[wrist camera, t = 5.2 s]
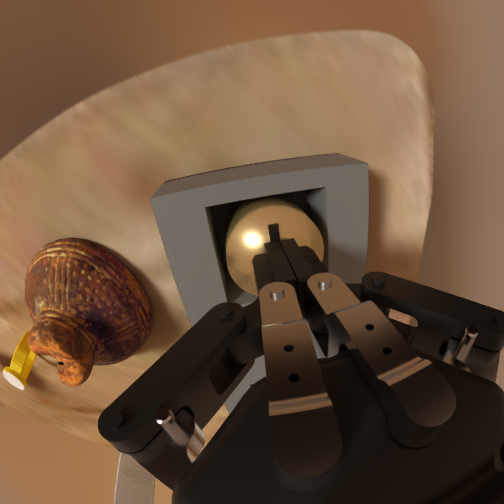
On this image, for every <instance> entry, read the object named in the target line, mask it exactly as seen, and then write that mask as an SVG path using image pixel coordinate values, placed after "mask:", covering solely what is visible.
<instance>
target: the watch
mask: <svg viewBox="0 0 504 504" xmlns="http://www.w3.org/2000/svg"><path fill="white" fill-rule="evenodd" d="M29 333H30V331H27V332H26V334H25V335H24V336H23V337H22V339H21V340H20V342H19V344H18V346H17V348H16V350H15V352H14V355H13V357H12V360H11V364H10V367H5V368H4V370H3V375H4V376H5V378H6V379H7V380H8V381H9V382H10V383H11V384H12V385H14V386H15V387H17V388H19V389H21V390H24V389H25V387H26V385H27V383H26V379H27V377H28V375H29V373H30V371H31V368H32V366H33V364H34V361H35V359H36V356H37V355H36V354H35V353H33V352H32V351H31V350H30V348H29V345H28V341H27V337H28V335H29Z"/></svg>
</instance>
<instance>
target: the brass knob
mask: <svg viewBox="0 0 504 504" xmlns="http://www.w3.org/2000/svg"><path fill="white" fill-rule="evenodd" d="M224 232H225V247H226V261H227V267H228V270H229V273H230V275H231V277H232V279H233V280H234V282H235V283H236V284H237V285H238V286H239V287H240V288H242V289H243V290H244V291H246V292H248V293H250V294H252V295H255V296H258V292H257V287H256V282H255V276H254V270H253V264H252V260H253V258H254V256H255V255H257V254H263V253H264V245H263V244H264V243H268V242H274V241H279V240H284V239H290V238H294V239H295V241H296V242H297V244H298V246H299V247H300V246H305V245H306V246H308V247H309V248H311V249H313V250H314V252H315V253H316V255H317V256H318V258H319V259H320V261H321V262H322V260H323V255H324V243H323V239H322V236H321V233H320V231H319V229H318V228H317V226H316V225H315V224H314V223H313V222H312V220H311V219H310V218H309V217H308V216H307V215H306V214H305V213H304V212H303V210H302V209H301V208H300V207H299V206H298V205H297V204H296V203H295V202H294V201H293V200H292V199H291V198H290V197H289V196H287V195H286V194H284V193H281V194H275V195H269V196H263V197H257V198H251V199H246V200H240V201H236V202H235V203H234V204H233V205H232V206H231V208H230V210H229V211H228V214H227V216H226V219H225V225H224Z"/></svg>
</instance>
